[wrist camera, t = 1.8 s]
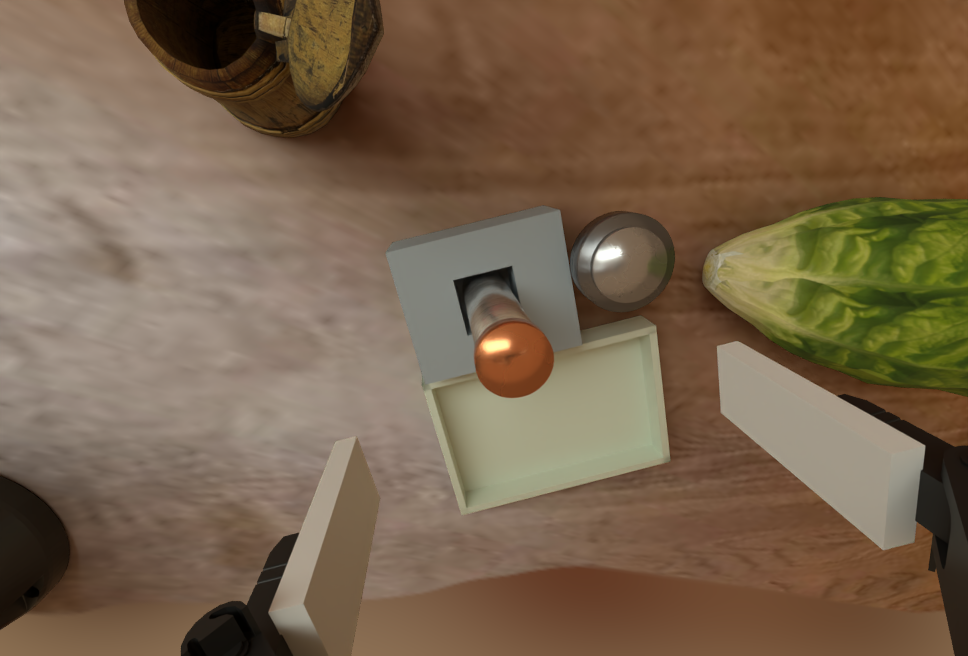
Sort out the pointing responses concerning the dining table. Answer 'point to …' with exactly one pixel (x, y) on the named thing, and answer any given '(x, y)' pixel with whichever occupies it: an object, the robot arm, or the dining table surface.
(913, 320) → the lettuce
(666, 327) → the dining table surface
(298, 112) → the wooden mug
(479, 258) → the block
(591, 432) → the tray
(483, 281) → the pin
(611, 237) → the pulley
